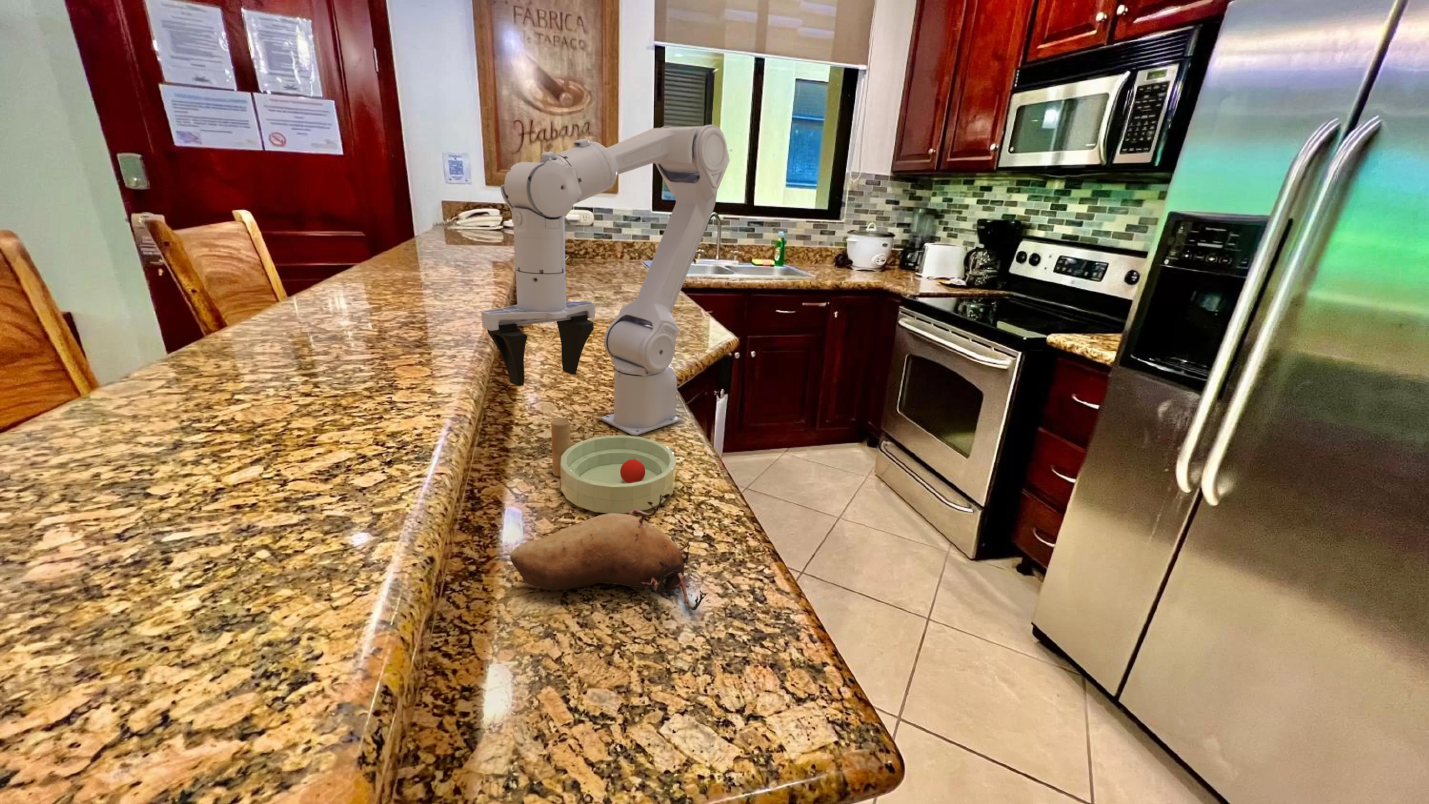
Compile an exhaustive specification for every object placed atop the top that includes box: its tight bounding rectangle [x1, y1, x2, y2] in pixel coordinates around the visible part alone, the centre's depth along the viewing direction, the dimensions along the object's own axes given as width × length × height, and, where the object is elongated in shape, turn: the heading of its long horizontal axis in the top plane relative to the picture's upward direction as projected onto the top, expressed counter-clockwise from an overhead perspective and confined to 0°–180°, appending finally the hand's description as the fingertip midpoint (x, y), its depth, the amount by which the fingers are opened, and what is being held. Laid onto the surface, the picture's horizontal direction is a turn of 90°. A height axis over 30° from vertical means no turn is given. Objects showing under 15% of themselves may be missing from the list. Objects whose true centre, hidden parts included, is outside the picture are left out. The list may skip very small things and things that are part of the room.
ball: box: [620, 459, 645, 483], centre depth 66 cm, size 3×3×3 cm
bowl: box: [560, 434, 677, 514], centre depth 66 cm, size 13×13×4 cm
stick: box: [550, 417, 571, 478], centre depth 68 cm, size 2×2×7 cm
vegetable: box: [509, 494, 707, 611], centre depth 48 cm, size 16×11×10 cm
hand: (544, 378), depth 71 cm, fingers open, 7 cm apart
